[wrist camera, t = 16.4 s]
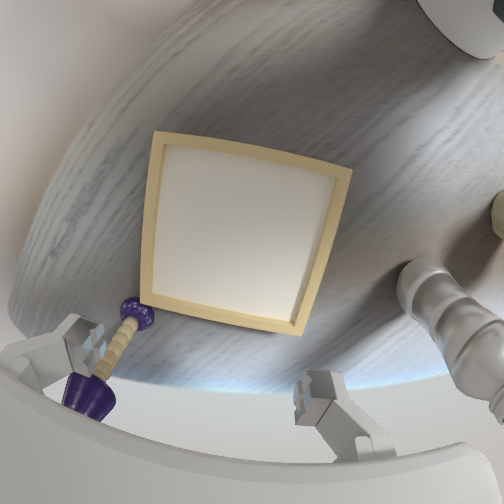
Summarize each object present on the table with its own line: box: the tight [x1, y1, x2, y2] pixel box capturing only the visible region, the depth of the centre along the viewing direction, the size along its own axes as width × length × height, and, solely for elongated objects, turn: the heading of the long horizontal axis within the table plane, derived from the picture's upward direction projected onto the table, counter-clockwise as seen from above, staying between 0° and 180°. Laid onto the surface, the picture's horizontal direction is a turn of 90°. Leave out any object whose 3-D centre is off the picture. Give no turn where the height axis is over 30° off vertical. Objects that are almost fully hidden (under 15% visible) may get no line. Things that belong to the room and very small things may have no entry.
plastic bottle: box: [396, 257, 504, 425], centre depth 18 cm, size 6×7×20 cm
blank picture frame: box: [140, 131, 353, 336], centre depth 25 cm, size 16×16×4 cm
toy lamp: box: [61, 298, 154, 422], centre depth 23 cm, size 5×5×17 cm
